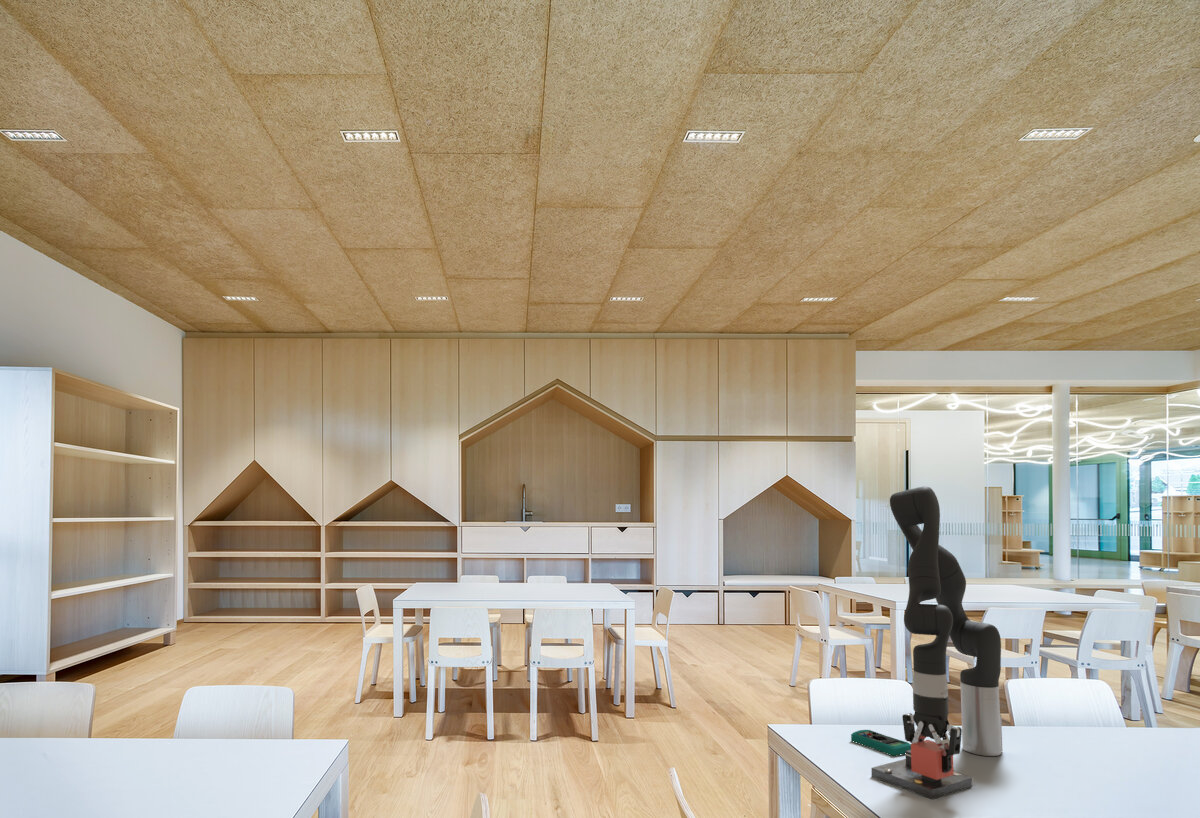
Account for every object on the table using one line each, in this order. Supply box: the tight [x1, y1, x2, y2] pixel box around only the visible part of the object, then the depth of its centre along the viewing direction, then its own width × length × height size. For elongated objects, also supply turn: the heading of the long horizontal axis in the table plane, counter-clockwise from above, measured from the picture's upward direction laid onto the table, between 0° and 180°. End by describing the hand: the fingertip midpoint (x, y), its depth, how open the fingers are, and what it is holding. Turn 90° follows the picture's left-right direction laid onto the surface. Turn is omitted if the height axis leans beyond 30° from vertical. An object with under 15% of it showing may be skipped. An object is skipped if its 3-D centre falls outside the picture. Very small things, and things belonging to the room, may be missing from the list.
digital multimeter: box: [850, 729, 912, 757], centre depth 206 cm, size 7×15×3 cm, turn 31°
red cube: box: [910, 739, 955, 780], centre depth 177 cm, size 6×6×6 cm
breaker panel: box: [871, 758, 973, 800], centre depth 180 cm, size 15×16×3 cm
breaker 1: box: [904, 750, 911, 766], centre depth 186 cm, size 3×3×3 cm
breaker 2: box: [922, 775, 941, 783], centre depth 176 cm, size 3×3×3 cm
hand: (932, 767), depth 177 cm, fingers closed on red cube, 6 cm apart
